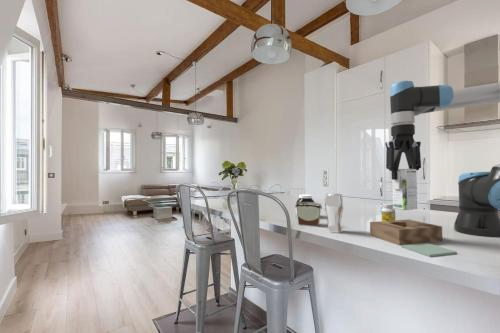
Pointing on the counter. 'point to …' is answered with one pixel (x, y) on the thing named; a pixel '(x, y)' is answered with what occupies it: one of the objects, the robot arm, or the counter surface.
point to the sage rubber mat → (429, 249)
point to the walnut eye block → (406, 231)
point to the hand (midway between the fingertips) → (404, 188)
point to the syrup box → (406, 191)
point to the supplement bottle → (388, 212)
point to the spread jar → (304, 199)
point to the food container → (308, 213)
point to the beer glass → (334, 212)
